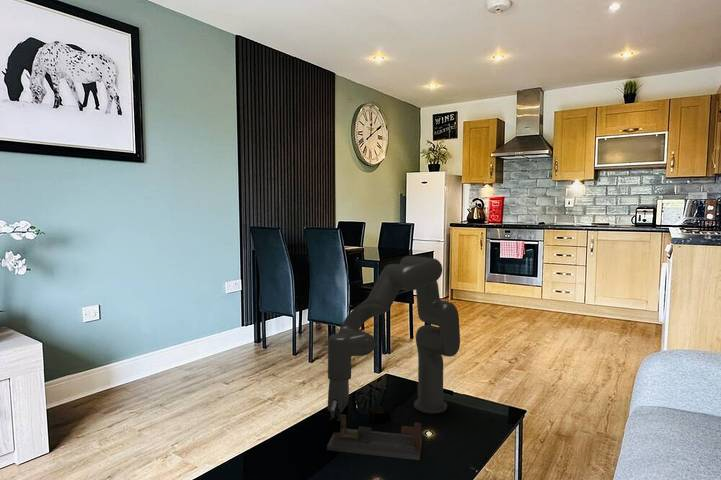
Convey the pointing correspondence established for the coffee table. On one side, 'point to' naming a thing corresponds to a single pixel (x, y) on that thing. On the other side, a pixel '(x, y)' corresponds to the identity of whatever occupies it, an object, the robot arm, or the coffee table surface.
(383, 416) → the tape measure
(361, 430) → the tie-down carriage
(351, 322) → the robot arm
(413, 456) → the rail
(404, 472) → the coffee table surface
